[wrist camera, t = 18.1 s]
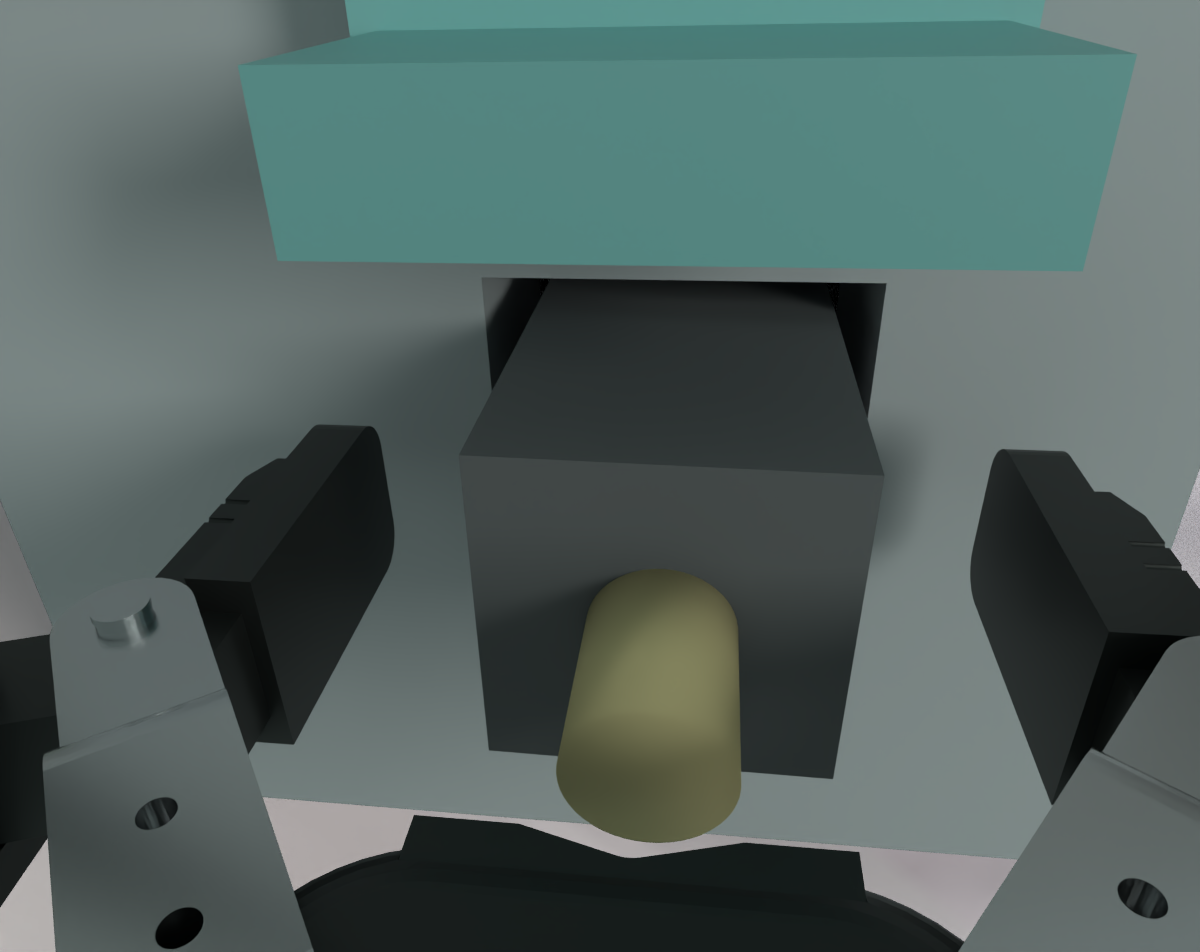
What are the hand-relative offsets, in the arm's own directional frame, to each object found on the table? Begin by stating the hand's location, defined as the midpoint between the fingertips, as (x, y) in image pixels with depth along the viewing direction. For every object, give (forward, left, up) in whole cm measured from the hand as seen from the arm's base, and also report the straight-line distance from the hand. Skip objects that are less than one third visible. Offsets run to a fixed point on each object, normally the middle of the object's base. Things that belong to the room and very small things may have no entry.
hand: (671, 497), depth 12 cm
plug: (0, 0, -5) cm, 5 cm away
